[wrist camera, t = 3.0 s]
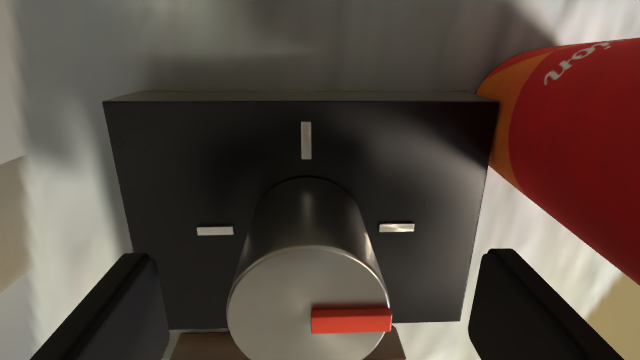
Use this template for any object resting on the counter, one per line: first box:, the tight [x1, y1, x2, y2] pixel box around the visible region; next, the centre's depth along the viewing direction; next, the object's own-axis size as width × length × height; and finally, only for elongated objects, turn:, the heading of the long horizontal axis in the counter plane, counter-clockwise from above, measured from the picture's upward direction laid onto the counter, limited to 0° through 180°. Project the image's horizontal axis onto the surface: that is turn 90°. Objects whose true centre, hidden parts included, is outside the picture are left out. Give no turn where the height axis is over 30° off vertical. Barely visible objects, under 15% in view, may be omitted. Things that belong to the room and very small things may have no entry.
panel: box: [102, 91, 500, 330], centre depth 15 cm, size 14×10×3 cm
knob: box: [226, 177, 392, 360], centre depth 12 cm, size 4×4×5 cm
